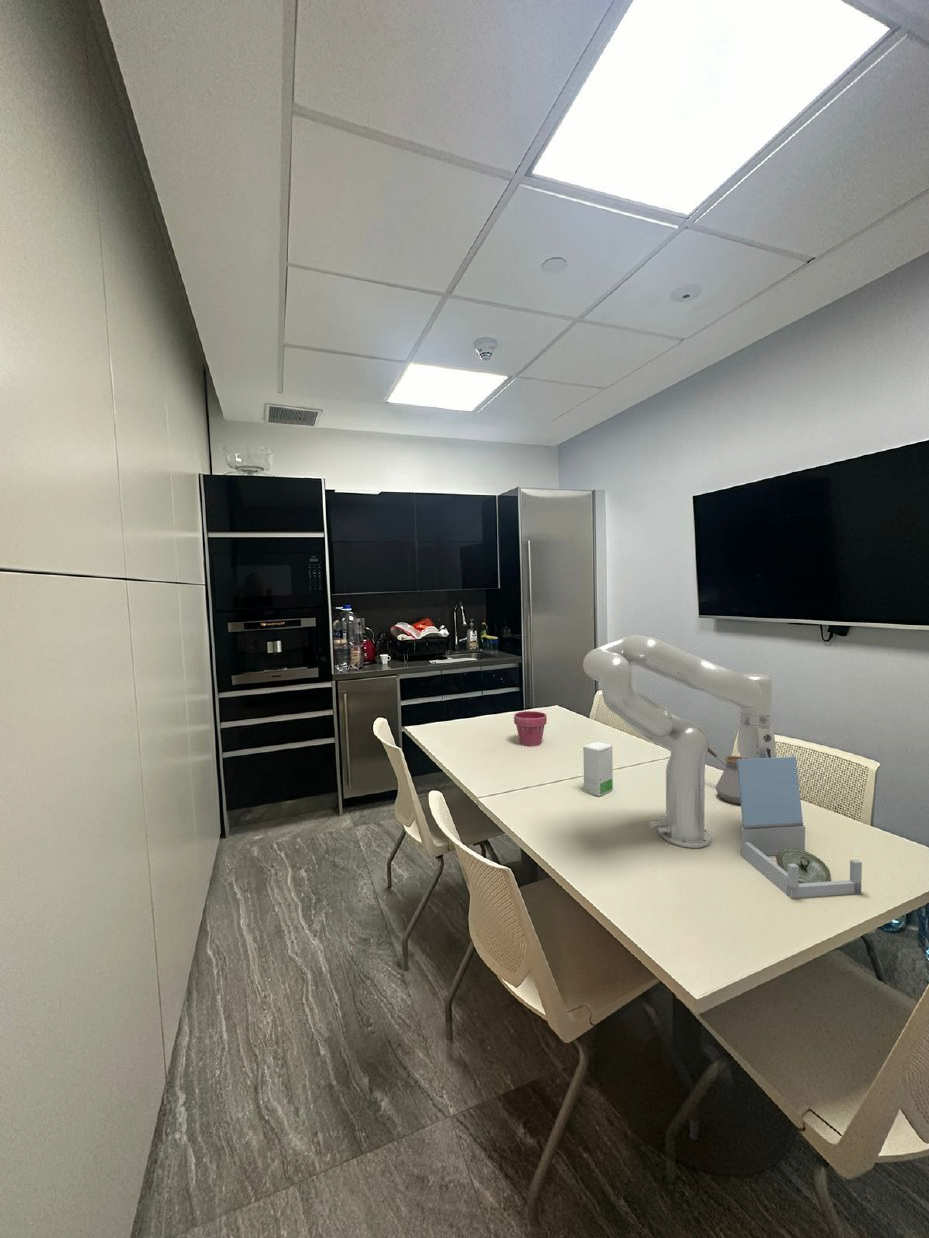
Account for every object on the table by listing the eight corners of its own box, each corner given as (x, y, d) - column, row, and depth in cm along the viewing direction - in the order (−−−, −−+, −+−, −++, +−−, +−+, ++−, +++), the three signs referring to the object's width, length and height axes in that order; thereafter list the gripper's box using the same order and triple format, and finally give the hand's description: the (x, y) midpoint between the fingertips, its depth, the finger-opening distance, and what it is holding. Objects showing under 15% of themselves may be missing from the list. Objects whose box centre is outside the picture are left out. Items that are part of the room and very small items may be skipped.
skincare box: (599, 797, 159) (598, 750, 158) (582, 791, 164) (581, 745, 163) (613, 790, 164) (613, 744, 163) (597, 784, 169) (596, 740, 168)
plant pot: (530, 736, 226) (529, 708, 225) (553, 743, 215) (553, 714, 214) (507, 743, 217) (507, 714, 216) (531, 750, 206) (530, 720, 205)
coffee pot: (765, 802, 152) (766, 755, 151) (739, 810, 147) (740, 761, 146) (707, 778, 171) (707, 736, 170) (683, 784, 167) (683, 741, 166)
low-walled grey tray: (791, 898, 106) (791, 867, 105) (740, 854, 123) (740, 827, 123) (861, 893, 107) (861, 862, 106) (801, 850, 124) (801, 824, 124)
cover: (738, 759, 123) (736, 759, 124) (745, 829, 122) (743, 827, 122) (795, 757, 124) (793, 756, 125) (803, 825, 123) (800, 824, 123)
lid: (816, 865, 118) (816, 845, 118) (841, 890, 108) (841, 868, 108) (768, 862, 119) (768, 843, 119) (789, 887, 110) (789, 865, 109)
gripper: (788, 725, 127) (787, 794, 128) (750, 711, 142) (749, 773, 143) (760, 727, 127) (759, 796, 128) (725, 712, 141) (725, 774, 143)
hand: (754, 784), depth 135 cm, fingers closed
